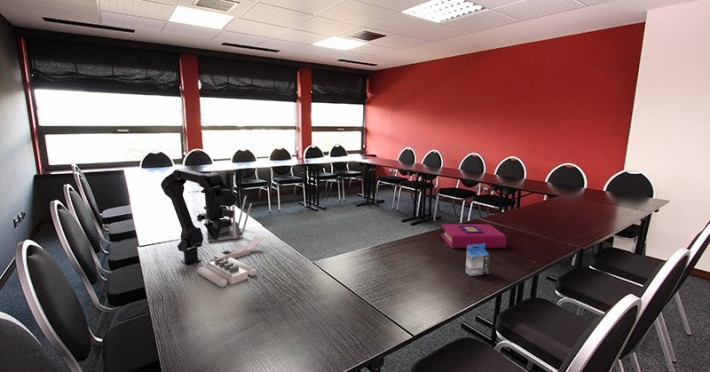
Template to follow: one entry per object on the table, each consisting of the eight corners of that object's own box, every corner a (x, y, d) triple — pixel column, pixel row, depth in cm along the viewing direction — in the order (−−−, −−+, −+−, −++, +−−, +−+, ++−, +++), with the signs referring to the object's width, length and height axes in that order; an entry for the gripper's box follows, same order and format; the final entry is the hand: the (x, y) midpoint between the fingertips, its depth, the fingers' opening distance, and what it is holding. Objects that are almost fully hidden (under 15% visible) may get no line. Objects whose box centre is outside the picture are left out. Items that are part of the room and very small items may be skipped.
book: (506, 249, 170) (507, 235, 169) (451, 249, 169) (452, 235, 168) (488, 236, 191) (489, 223, 189) (440, 236, 190) (440, 223, 189)
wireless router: (206, 228, 200) (204, 195, 197) (246, 223, 210) (245, 192, 206) (208, 246, 170) (205, 208, 167) (255, 240, 180) (253, 204, 176)
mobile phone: (263, 238, 166) (215, 252, 147) (264, 249, 167) (216, 265, 148) (256, 236, 170) (208, 249, 151) (257, 247, 171) (209, 261, 152)
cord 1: (197, 274, 139) (197, 267, 138) (204, 272, 141) (204, 265, 140) (221, 289, 126) (220, 282, 126) (228, 286, 128) (228, 279, 128)
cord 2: (227, 264, 148) (226, 258, 148) (233, 262, 151) (233, 256, 150) (251, 277, 136) (251, 271, 135) (258, 275, 138) (257, 268, 138)
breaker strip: (207, 269, 143) (206, 258, 142) (222, 264, 148) (222, 254, 147) (231, 284, 130) (230, 272, 129) (247, 278, 135) (247, 266, 134)
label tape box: (470, 276, 138) (472, 248, 136) (464, 272, 142) (466, 244, 140) (488, 274, 140) (491, 246, 138) (482, 270, 144) (484, 243, 142)
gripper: (242, 204, 139) (244, 239, 142) (220, 197, 151) (222, 230, 154) (216, 209, 131) (219, 247, 133) (195, 201, 143) (198, 236, 145)
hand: (215, 239), depth 142 cm, fingers closed
